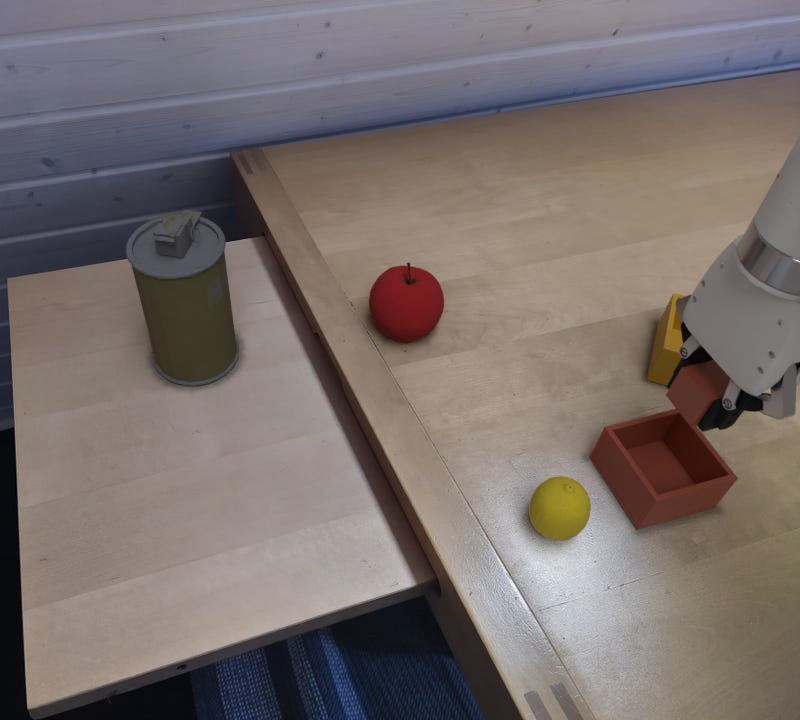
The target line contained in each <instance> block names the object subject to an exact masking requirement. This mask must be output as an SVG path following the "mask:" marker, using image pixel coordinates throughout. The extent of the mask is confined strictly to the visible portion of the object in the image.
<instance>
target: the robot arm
mask: <svg viewBox="0 0 800 720" xmlns="http://www.w3.org/2000/svg"><path fill="white" fill-rule="evenodd" d="M684 296H685V297H683V298H680V299H678V300H676V308H677V311H678V314H679V318H680V321H682V323H681V333H682V340H683V344H682V346H681V347H680V348H679V354H680V356H681V357H682V358H681V360H680V362H679V363H678V365H677V367H676V368H675V370H674V372H673V376H672V378H671V379H670V381H669V383H668V384H667V386H665V387H666V388H667V391H668V390H669V388H670V387H671V385H672V383H673V382H674V380H675V378H676V377H677V375H678V373H679V371H680V370H681V368H682V367H687V366H691V365H695V364H699V363H703V362H707V361H711V360H715V361H716V363H717V364H718V365H719V366H720V367H721V368H722V369H723V370H724V372H725V373H726V374H727V375H728V376H729V377H730V378H731V379H730V381H729V384H728V386H727V389H726V391H725V394H724V396H723V398H720V399H717V400H715V401H714V402H713V403H712V405H711V406H710V408H709V409H708V411H707V412H706V414H705V415H704V417H703V418H702V419H701V421H700V422H699V424H698V426H697V428H698V429H699V430H700V431H701V433H703V432H708V431H711V430H714V429H715V430H716V429H718V430H719V431H723V430H727V429H729V428H731V427H732V426H734V425H735V423H736V422H737V421H738V420H739V418H740V417H741V415H742V414H744V412H752V413H755V412H756V413H757V412H759V413H762V414H761V415H764V416H767V417H770V418H772V419H776V420H778V421H780V420H784V419H787V418H792V417H794V416H795V415H796V409H797V407H796V405H797V387H799V386H800V135H799V136H798V138H797V139H796V141H795V143H794V145H793V146H792V149H791V150H790V152H789V154H788V155H787V157H786V159H785V161H784V163H783V164H782V165H781V168H780V170H779V171H778V173H777V175H776V177H775V179H774V180H773V182H772V184H771V185H770V187H769V189H768V191H767V193H766V194H765V196H764V198H763V200H762V201H761V203H760V205H759V207H758V208H757V210H756V212H755V214H754V216H753V217H752V218H751V220H750V223H749V224H748V226H747V228H746V230H745V231H744V233H741V234H739V235H738V236H736V237H735V238H734V239H733V240H732V241H731V242H730V243H729V244H728V246H726V247H725V248H724V249H723V250H722V252H720V254H719V255H718V256H717V257H716V259H715V260H714V261H713V262H712V264H711V265H710V266H709V268H708V269H707V270H706V272H705V273H704V275H702V278H701V279H700V280H699V282H698V284H697V285H696V287H695V289H694V290H693V292H692V293H691V294H689V295H684ZM767 390H770V393H768V392H765V391H767Z"/></svg>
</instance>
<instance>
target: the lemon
mask: <svg viewBox="0 0 800 720" xmlns="http://www.w3.org/2000/svg"><path fill="white" fill-rule="evenodd" d="M591 509H592V504H591V498H590V495H589V493H588V491H587V490H586V489H585V487H584V485H582V484H581V482H579V481H577V480H576V479H574V478H572V477H568V476H563V475H560V476H553V477H550V478H548V479H546V480H544V481H543V482H541V483H540V484H539V486H537V488H536V489H535V490H534V491H533V493H532V495H531V498H530V500H529V503H528V515H529V519H530V522H531V525H532V526H533V528H534V529H535V530H536V531H537V532H538V533H539V534H540V535H541V536H542V537H544V538H546V539H548V540H552V541H557V542H558V541H559V542H563V541H568V540H571V539H573V538H575V537H577V536H578V535H580V533H581V532H582V531H584V530H585V528H586V525H587V524H588V522H589V520H590V515H591V511H592V510H591Z"/></svg>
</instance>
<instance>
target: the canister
mask: <svg viewBox="0 0 800 720" xmlns="http://www.w3.org/2000/svg"><path fill="white" fill-rule="evenodd" d="M225 236H226V235H225V234H224V232H223V230H222V228H221V227H219V225H217V224H216V223H215V222H213V221H211V220H210V219H208V218H207V217H206V218H205V217H204V212H202V211H196V210H190V209H184V210H183V212H182V213H180V214H179V213H177V214H166V213H163V214H162V215H161V216H160V217H158V218H154V219H151V220H149V221H147V222H146V223H144V224H143V225H141V226H139V227H138V228H137V229H135V230H134V232H133V233H132V234H131V235H130V236H129V238H128V239H127V242H126V247H125V255H126V259H127V261H128V262H129V264H130V265H131V269H132V273H133V277H134V281H135V285H136V288H137V289H136V290H137V293H138V297H139V301H140V305H141V309H142V312H143V317H144V321H145V325H146V328H147V332H148V336H149V340H150V345H151V349H152V352H153V362H154V366H155V368H156V370H157V372H158V373H159V374H160V375H161V377H163V378H164V379H166V380H167V381H169V382H171V383H174V384H176V385H180V386H188V387H196V386H197V387H198V386H199V387H200V386H204V385H209V384H211V383H214V382H216V381H218V380H221V379H222V378H223V377H225V376H226V375H228V374H229V372H231V371H232V369H233V368H234V367H235V365H236V363H237V361H238V359H239V355H240V346H239V342H238V340H237V338H236V331H235V324H234V316H233V309H232V308H233V307H232V299H231V293H230V283H229V277H228V269H227V262H226V254H225V251H226V250H225V249H226V242H227V241H226V237H225Z"/></svg>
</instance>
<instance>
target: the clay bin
mask: <svg viewBox="0 0 800 720" xmlns="http://www.w3.org/2000/svg"><path fill="white" fill-rule="evenodd" d="M589 460H590V461H591V462H592V464H593V466H594V467H595V468H596V470H597V471H598V473H599V474H600V476H601V477H602V479H603V481H604V482H605V484H606V485H607V487H608V488H609V490H610V491H611V493H612V495H613V496H614V497H615V500H617V502H618V504H619V505H620V506H621V508H622V509H623V511H624V512H625V514H626V516H627V518H628V519H629V520H630V522H631V523H632V525H633V526H634V528H635V530H636V531H639V530H642V529H645V528H649V527H652V526H656V525H659V524H662V523H666V522H670V521H674V520H677V519H679V518H683V517H687V516H690V515H694V514H697V513H700V512H701V513H702V512H703V511H707V510H711V509H715V508H716V507H717V505H718V504H719V503H720V502H721V501H722V499H723V498H724V497H725V496H726V494H727V493H728V491H730V490H731V488H732V487H733V485H734V484H736V482H737V481H738V479H739V477H738V476H737V474H736V473H735V472H734V471H733V470H732V468H731V467H730V466H729V465H728V463H727V462H726V461H725V460H724V458H723V457H722V456H721V455H720V454H719V452H718V451H717V450H716V449H715V447H714V446H713V445H712V444H711V442H710V441H709V440H708V439H707V437H706V436H705V435H704V433H703V432H702V431H701V430H700V429H699V427H698V426H697V427H693V428H691V427H690V426H689V424H688V423H687V422H686V420H685V419H684V418H683V417H682V415H681V414H680V413H679V412H678V410H677V409H676V408H672V409H669V410H665V411H660V412H657V413H653V414H648V415H644V416H641V417H638V418H634V419H630V420H626V421H622V422H617V423H615V424H610V425H606V426H604V427H603V429H602V431H601V433H600V435H599V437H598V439H597V441H596V443H595V445H594V447H593V449H592V450H591V454H590V455H589Z"/></svg>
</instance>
